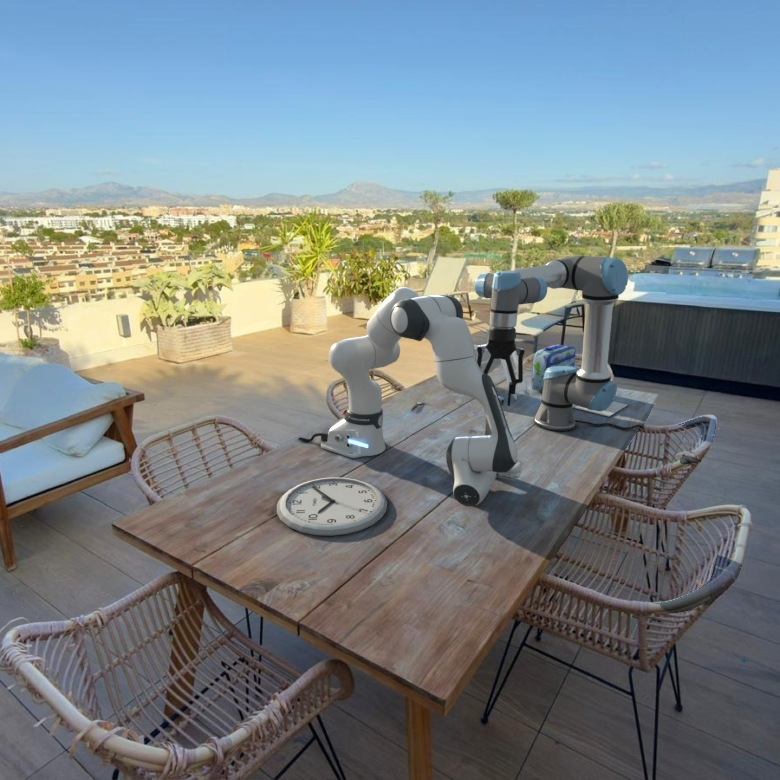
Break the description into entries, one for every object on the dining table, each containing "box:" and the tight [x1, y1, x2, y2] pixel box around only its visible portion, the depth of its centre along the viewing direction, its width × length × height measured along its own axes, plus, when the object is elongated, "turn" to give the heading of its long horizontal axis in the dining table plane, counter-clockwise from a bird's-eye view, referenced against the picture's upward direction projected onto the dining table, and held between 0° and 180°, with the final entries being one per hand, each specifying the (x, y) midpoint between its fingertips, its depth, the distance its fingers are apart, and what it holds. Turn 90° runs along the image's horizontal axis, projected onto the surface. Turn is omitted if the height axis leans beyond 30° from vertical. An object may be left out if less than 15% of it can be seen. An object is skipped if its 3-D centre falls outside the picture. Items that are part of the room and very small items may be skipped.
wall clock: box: [276, 476, 388, 537], centre depth 142 cm, size 30×2×30 cm
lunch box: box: [530, 344, 577, 392], centre depth 247 cm, size 26×11×21 cm, turn 134°
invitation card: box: [573, 400, 629, 418], centre depth 226 cm, size 21×1×15 cm
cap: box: [498, 395, 505, 407], centre depth 156 cm, size 4×4×2 cm
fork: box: [410, 395, 425, 412], centre depth 222 cm, size 3×16×2 cm, turn 160°
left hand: (492, 453), depth 162 cm, fingers closed on bottle, 5 cm apart
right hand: (496, 402), depth 156 cm, fingers open, 7 cm apart
